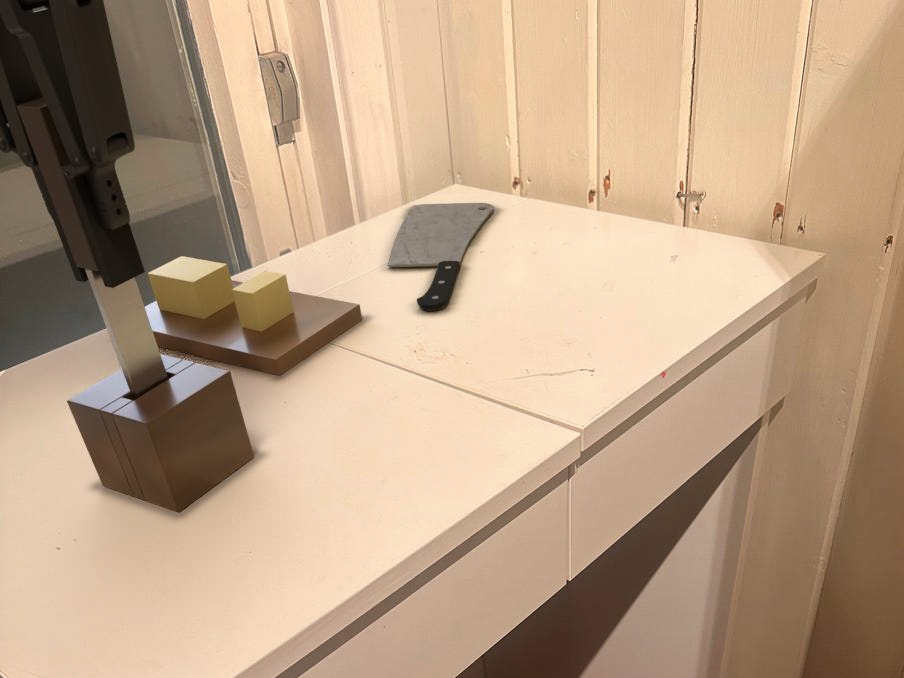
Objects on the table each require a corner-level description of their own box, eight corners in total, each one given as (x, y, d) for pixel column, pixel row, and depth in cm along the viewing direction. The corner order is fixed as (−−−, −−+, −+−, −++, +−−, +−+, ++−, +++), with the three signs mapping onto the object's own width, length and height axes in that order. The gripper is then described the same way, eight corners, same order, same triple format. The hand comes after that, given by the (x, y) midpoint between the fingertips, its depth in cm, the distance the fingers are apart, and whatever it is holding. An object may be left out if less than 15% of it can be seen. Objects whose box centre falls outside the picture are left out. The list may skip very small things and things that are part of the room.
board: (120, 337, 87) (115, 322, 86) (208, 289, 94) (204, 274, 93) (279, 375, 78) (275, 359, 77) (362, 319, 86) (359, 304, 85)
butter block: (159, 309, 87) (147, 273, 85) (192, 291, 90) (181, 255, 88) (204, 319, 85) (193, 282, 82) (237, 300, 87) (227, 263, 85)
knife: (130, 410, 64) (15, 105, 51) (161, 391, 66) (58, 91, 53) (150, 416, 63) (38, 107, 50) (181, 396, 65) (81, 93, 52)
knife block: (102, 486, 67) (65, 400, 63) (179, 434, 72) (151, 351, 67) (179, 512, 64) (146, 424, 59) (254, 456, 69) (230, 370, 64)
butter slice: (241, 327, 83) (231, 289, 80) (273, 308, 85) (264, 270, 83) (262, 332, 82) (252, 293, 79) (294, 312, 84) (285, 274, 82)
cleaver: (348, 312, 87) (451, 310, 85) (347, 306, 86) (450, 305, 85) (413, 207, 108) (496, 204, 106) (412, 203, 107) (496, 200, 106)
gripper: (102, -253, 41) (237, 270, 57) (-92, -221, 48) (78, 241, 64) (-41, -248, 37) (149, 318, 53) (-234, -213, 43) (-12, 282, 59)
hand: (110, 275), depth 58 cm, fingers closed on knife, 2 cm apart
